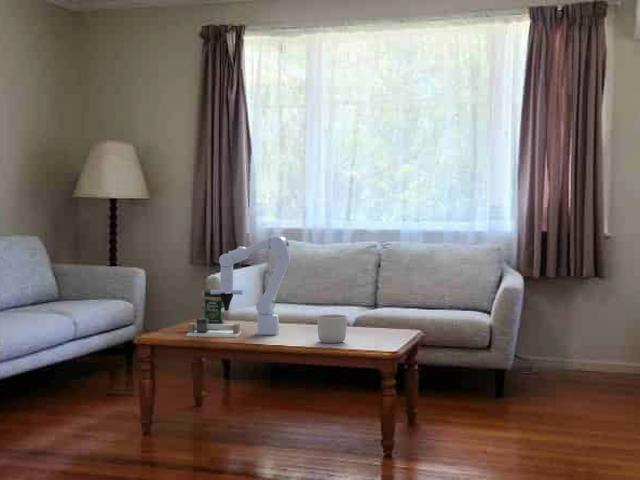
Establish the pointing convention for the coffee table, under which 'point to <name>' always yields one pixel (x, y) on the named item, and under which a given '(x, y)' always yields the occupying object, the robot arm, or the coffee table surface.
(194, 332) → the rail
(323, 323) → the planter
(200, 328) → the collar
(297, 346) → the coffee table surface
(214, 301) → the coffee jar
